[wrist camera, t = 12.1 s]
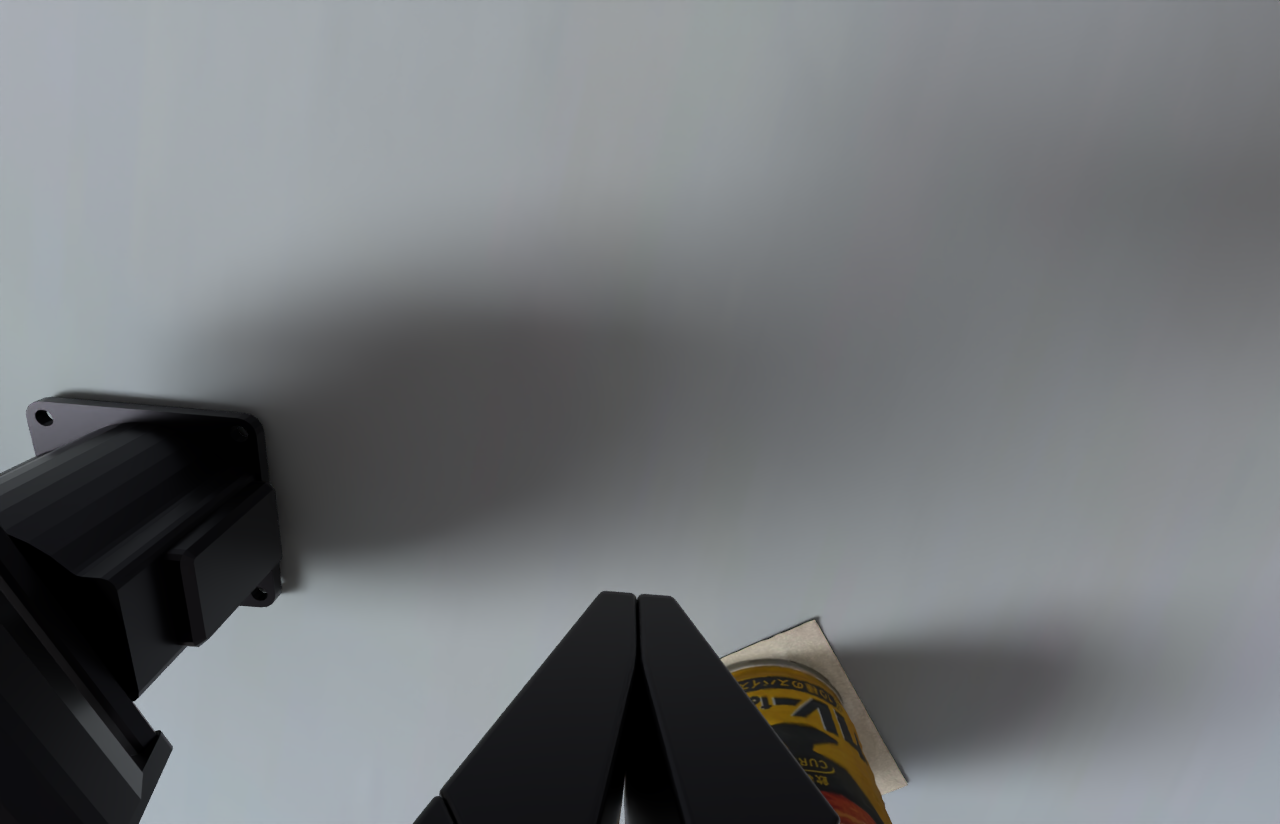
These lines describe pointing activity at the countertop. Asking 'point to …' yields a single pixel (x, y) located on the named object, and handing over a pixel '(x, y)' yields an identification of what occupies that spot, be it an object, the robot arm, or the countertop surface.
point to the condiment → (820, 720)
